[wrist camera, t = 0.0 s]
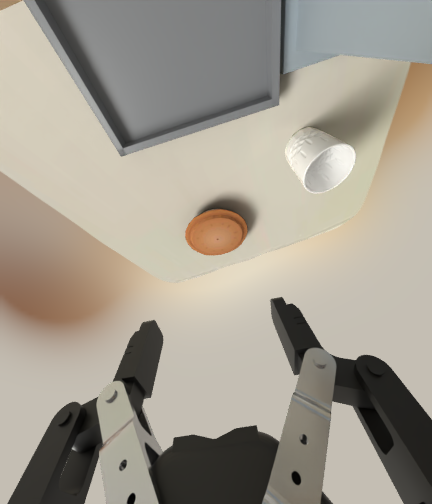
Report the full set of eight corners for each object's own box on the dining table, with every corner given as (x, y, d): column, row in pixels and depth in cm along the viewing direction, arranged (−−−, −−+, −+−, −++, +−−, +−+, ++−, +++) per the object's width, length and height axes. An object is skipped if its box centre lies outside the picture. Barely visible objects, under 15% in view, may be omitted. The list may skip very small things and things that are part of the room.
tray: (124, 149, 32) (121, 156, 30) (-35, -120, 16) (-66, -143, 14) (272, 100, 29) (279, 105, 27) (272, -291, 13) (287, -350, 11)
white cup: (327, 116, 32) (364, 135, 26) (319, 160, 38) (347, 185, 31) (282, 131, 33) (306, 153, 26) (281, 172, 39) (301, 198, 32)
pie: (256, 219, 48) (261, 232, 45) (218, 252, 57) (220, 265, 53) (210, 188, 40) (213, 201, 37) (174, 232, 48) (173, 246, 45)
